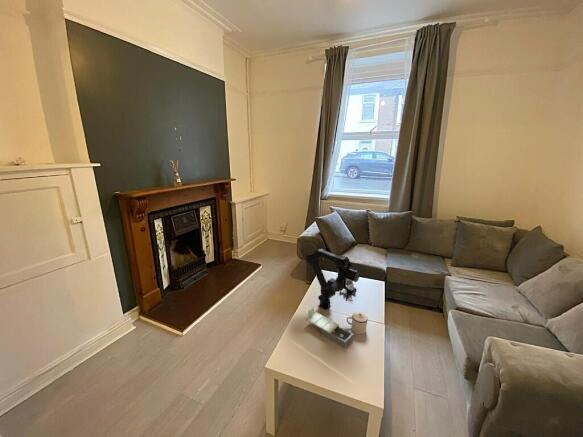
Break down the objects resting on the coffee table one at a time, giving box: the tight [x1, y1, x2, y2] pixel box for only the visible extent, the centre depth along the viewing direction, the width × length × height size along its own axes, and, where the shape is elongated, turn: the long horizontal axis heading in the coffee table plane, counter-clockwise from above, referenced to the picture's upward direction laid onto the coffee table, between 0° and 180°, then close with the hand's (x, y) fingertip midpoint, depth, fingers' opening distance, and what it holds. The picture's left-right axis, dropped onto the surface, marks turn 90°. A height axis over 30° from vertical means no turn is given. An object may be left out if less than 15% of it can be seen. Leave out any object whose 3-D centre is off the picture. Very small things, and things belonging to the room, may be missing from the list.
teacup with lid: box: [346, 311, 369, 335], centre depth 147 cm, size 12×9×12 cm
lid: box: [306, 306, 340, 333], centre depth 147 cm, size 18×10×5 cm, turn 48°
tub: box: [320, 325, 355, 349], centre depth 141 cm, size 16×9×4 cm, turn 48°
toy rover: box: [339, 279, 357, 297], centre depth 190 cm, size 18×10×12 cm
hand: (340, 298), depth 159 cm, fingers open, 9 cm apart
